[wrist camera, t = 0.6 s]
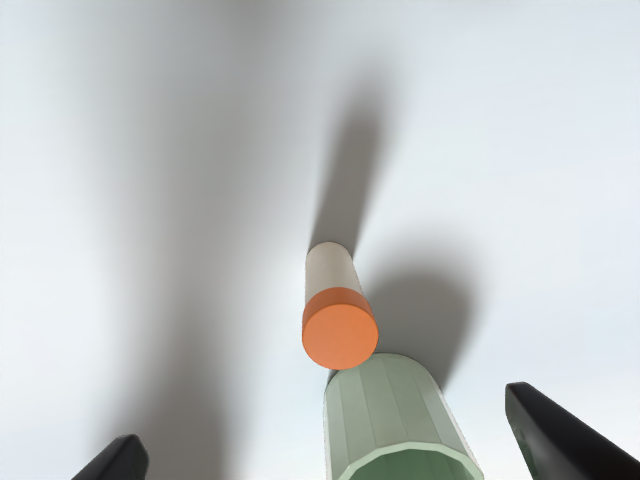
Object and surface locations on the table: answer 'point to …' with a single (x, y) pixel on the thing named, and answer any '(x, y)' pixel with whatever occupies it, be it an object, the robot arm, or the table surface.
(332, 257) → the glue stick
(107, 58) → the table surface
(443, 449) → the pen holder
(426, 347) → the table surface
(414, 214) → the table surface
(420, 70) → the table surface
